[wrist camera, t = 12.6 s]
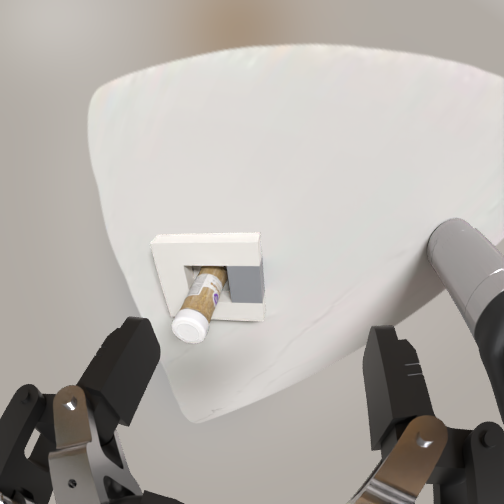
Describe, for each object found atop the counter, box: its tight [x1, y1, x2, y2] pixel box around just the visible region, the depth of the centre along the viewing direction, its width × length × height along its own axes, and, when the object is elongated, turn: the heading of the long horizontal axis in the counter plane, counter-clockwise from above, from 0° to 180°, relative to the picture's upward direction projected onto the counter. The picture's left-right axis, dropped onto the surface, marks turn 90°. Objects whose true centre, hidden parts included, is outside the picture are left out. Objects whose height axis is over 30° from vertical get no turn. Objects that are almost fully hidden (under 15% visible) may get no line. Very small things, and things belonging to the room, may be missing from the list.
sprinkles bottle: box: [171, 266, 227, 344], centre depth 40 cm, size 5×5×13 cm
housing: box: [150, 233, 266, 321], centre depth 45 cm, size 16×14×3 cm
